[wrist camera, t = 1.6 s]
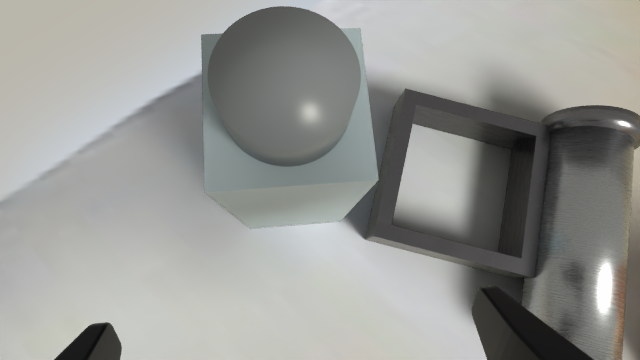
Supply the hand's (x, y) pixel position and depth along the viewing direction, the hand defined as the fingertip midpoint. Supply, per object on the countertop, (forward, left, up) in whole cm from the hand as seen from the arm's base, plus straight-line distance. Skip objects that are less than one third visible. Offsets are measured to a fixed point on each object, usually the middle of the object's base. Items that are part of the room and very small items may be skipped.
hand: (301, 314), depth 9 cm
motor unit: (+7, -9, -12) cm, 17 cm away
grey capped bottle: (+6, +3, -12) cm, 14 cm away
